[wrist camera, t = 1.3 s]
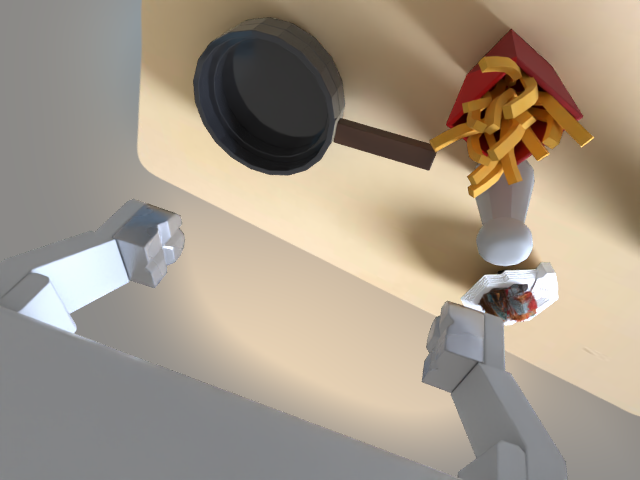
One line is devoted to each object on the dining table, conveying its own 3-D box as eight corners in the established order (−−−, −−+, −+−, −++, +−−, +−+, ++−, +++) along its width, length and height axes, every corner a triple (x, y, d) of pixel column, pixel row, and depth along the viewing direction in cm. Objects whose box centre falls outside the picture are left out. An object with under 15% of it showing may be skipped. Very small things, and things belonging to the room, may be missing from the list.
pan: (210, -1, 39) (186, 11, 36) (359, 38, 38) (347, 55, 35) (217, 134, 50) (199, 153, 47) (333, 169, 49) (322, 191, 46)
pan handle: (340, 117, 40) (336, 122, 39) (438, 145, 39) (436, 152, 38) (336, 136, 42) (333, 142, 41) (430, 164, 41) (429, 170, 40)
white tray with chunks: (474, 244, 47) (491, 296, 43) (570, 247, 48) (597, 298, 43) (443, 298, 56) (455, 346, 52) (524, 300, 57) (542, 347, 52)
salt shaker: (461, 176, 44) (453, 259, 35) (491, 133, 40) (490, 214, 31) (510, 197, 44) (515, 286, 35) (545, 156, 40) (561, 245, 31)
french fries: (570, 63, 34) (602, 156, 24) (491, 131, 40) (490, 229, 29) (494, -7, 32) (493, 60, 22) (423, 74, 38) (397, 157, 28)
